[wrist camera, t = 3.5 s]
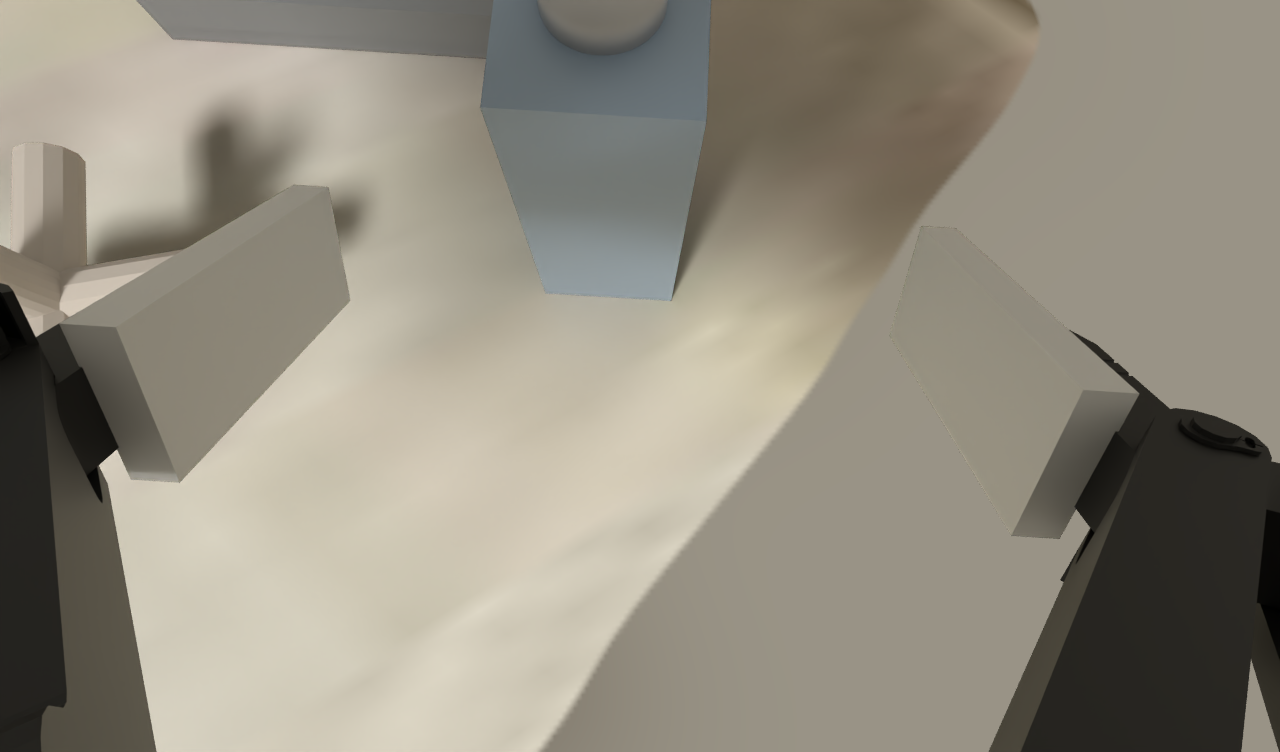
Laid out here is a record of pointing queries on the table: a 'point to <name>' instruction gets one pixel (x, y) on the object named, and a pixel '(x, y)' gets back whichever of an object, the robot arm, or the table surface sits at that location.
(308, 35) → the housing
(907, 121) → the table surface
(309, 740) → the table surface
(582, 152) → the block
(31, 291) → the pipe connector
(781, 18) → the table surface
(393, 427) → the table surface
